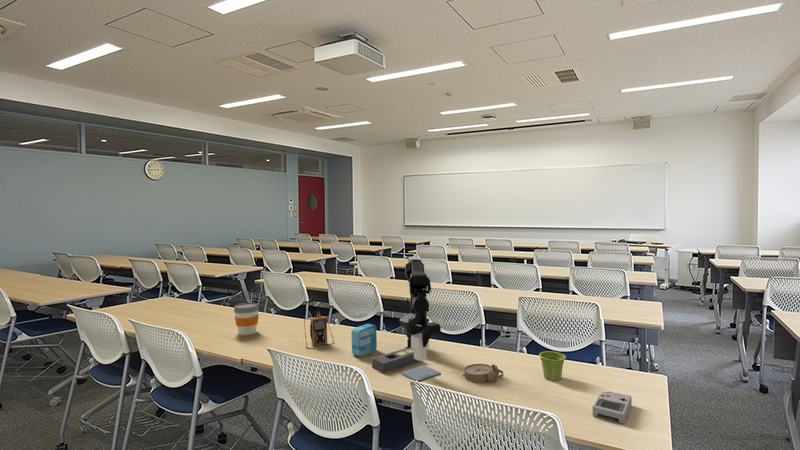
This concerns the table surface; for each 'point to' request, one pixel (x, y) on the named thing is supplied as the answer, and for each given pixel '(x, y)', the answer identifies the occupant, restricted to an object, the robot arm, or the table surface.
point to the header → (394, 360)
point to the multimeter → (318, 329)
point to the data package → (364, 340)
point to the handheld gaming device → (612, 405)
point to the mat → (420, 373)
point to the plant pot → (552, 365)
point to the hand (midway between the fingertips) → (420, 345)
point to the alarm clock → (482, 373)
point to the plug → (419, 347)
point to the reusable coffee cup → (246, 318)
